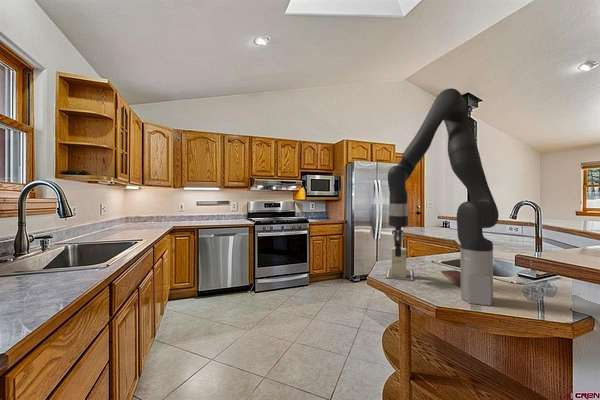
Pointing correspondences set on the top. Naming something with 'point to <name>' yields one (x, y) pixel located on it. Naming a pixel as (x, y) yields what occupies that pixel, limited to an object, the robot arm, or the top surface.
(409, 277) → the mat
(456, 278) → the wooden tablet
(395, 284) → the top surface
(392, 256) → the skincare box
